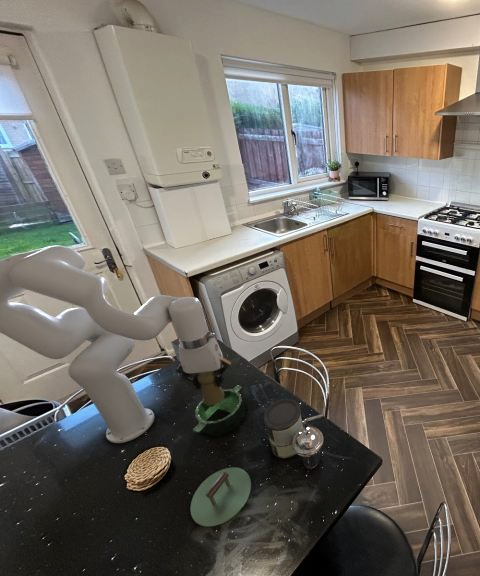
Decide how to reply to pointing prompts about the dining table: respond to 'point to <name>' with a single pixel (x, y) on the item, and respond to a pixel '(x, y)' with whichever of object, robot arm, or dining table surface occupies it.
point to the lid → (220, 497)
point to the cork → (210, 388)
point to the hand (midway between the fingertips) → (209, 384)
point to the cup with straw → (308, 443)
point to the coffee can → (283, 426)
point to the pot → (228, 403)
